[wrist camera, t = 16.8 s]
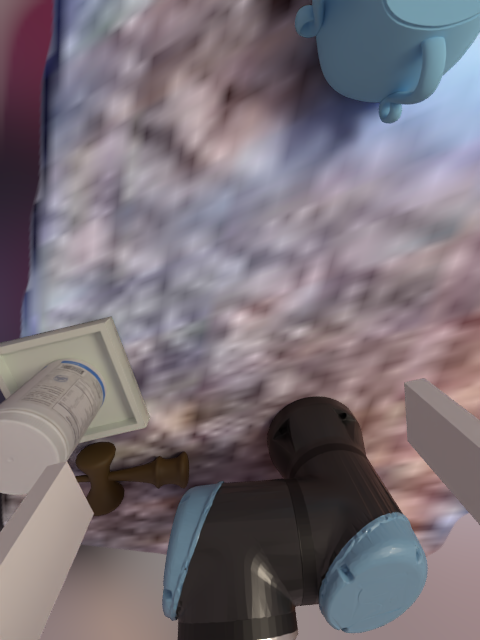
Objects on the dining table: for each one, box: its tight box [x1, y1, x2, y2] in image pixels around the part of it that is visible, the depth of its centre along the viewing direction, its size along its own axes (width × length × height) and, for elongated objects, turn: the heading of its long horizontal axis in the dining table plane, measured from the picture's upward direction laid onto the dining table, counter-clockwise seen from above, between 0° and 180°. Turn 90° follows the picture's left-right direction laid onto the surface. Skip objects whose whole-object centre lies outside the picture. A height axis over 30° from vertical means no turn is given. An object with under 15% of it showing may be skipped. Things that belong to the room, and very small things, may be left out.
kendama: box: [75, 442, 189, 516], centre depth 47 cm, size 6×10×20 cm
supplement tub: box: [0, 358, 107, 495], centre depth 37 cm, size 10×10×15 cm
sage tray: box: [0, 317, 150, 443], centre depth 44 cm, size 17×17×2 cm
